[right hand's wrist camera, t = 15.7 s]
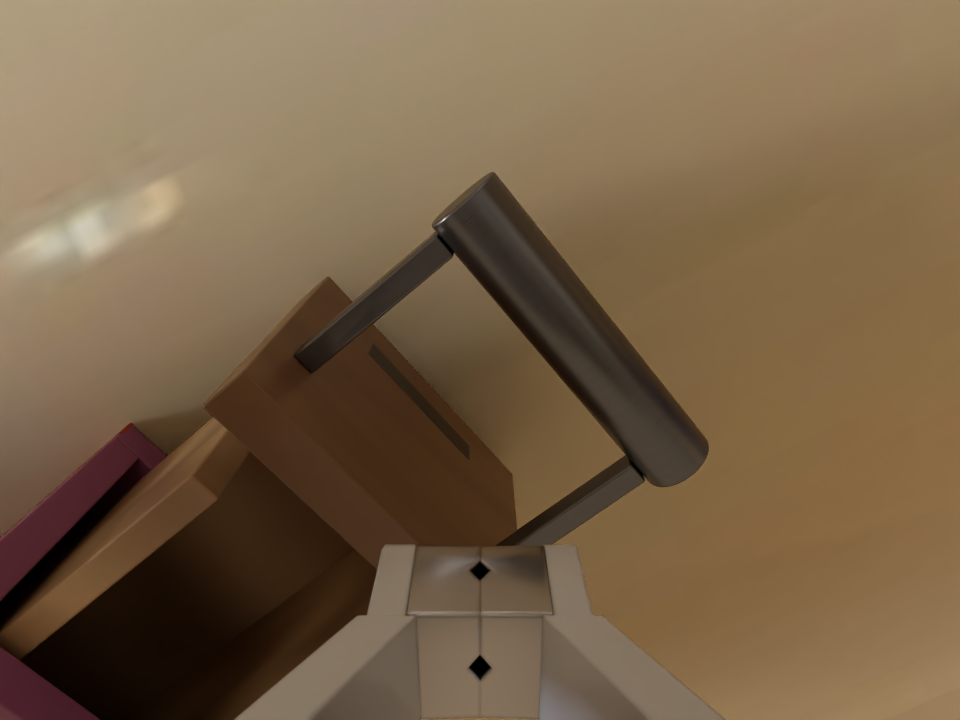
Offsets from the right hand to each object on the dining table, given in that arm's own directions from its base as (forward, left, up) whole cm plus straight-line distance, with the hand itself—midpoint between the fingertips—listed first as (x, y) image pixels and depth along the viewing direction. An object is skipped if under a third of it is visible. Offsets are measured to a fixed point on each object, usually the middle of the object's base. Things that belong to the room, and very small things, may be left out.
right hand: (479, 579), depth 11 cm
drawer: (+8, +2, -11) cm, 14 cm away
